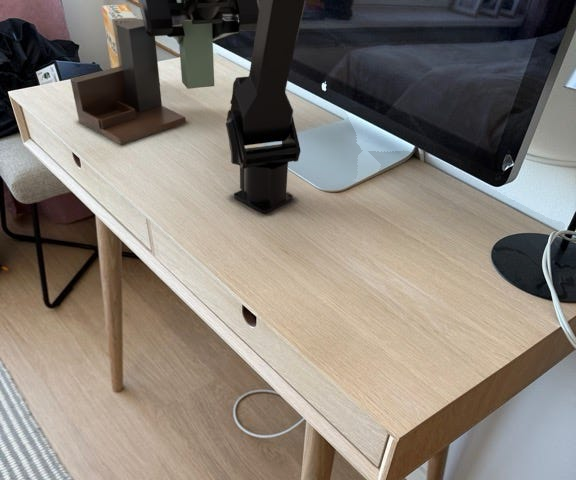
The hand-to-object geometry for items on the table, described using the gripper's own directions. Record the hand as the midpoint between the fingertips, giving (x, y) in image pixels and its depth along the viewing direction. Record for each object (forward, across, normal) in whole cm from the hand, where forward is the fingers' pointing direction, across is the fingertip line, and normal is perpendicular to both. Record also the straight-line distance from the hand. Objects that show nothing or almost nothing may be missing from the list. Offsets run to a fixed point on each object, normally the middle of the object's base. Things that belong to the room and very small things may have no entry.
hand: (193, 40), depth 97 cm
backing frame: (+6, +13, +10) cm, 17 cm away
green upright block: (+4, 0, +6) cm, 7 cm away
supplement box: (+17, +10, -1) cm, 20 cm away
